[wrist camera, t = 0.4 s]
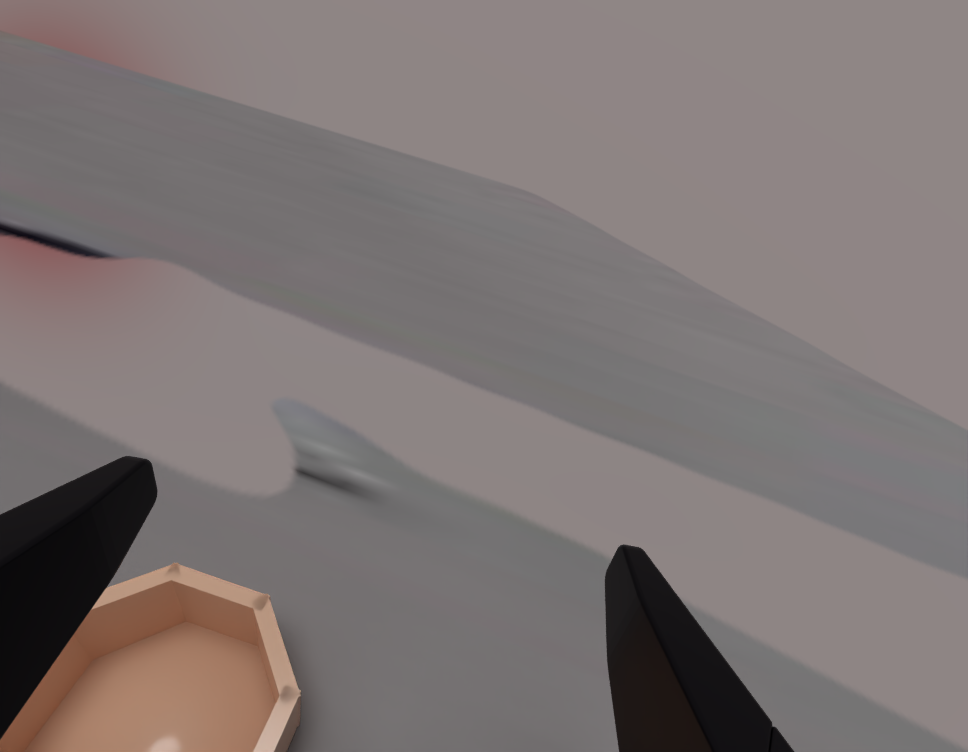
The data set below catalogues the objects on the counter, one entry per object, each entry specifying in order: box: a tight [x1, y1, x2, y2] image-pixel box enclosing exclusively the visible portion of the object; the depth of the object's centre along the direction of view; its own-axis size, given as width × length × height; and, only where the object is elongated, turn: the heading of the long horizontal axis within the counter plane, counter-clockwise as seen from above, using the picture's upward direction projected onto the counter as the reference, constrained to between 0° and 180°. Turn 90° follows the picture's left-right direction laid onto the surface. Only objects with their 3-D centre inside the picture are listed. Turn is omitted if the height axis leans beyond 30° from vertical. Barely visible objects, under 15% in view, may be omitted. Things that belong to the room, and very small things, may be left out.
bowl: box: [0, 563, 301, 752], centre depth 18 cm, size 9×9×4 cm
